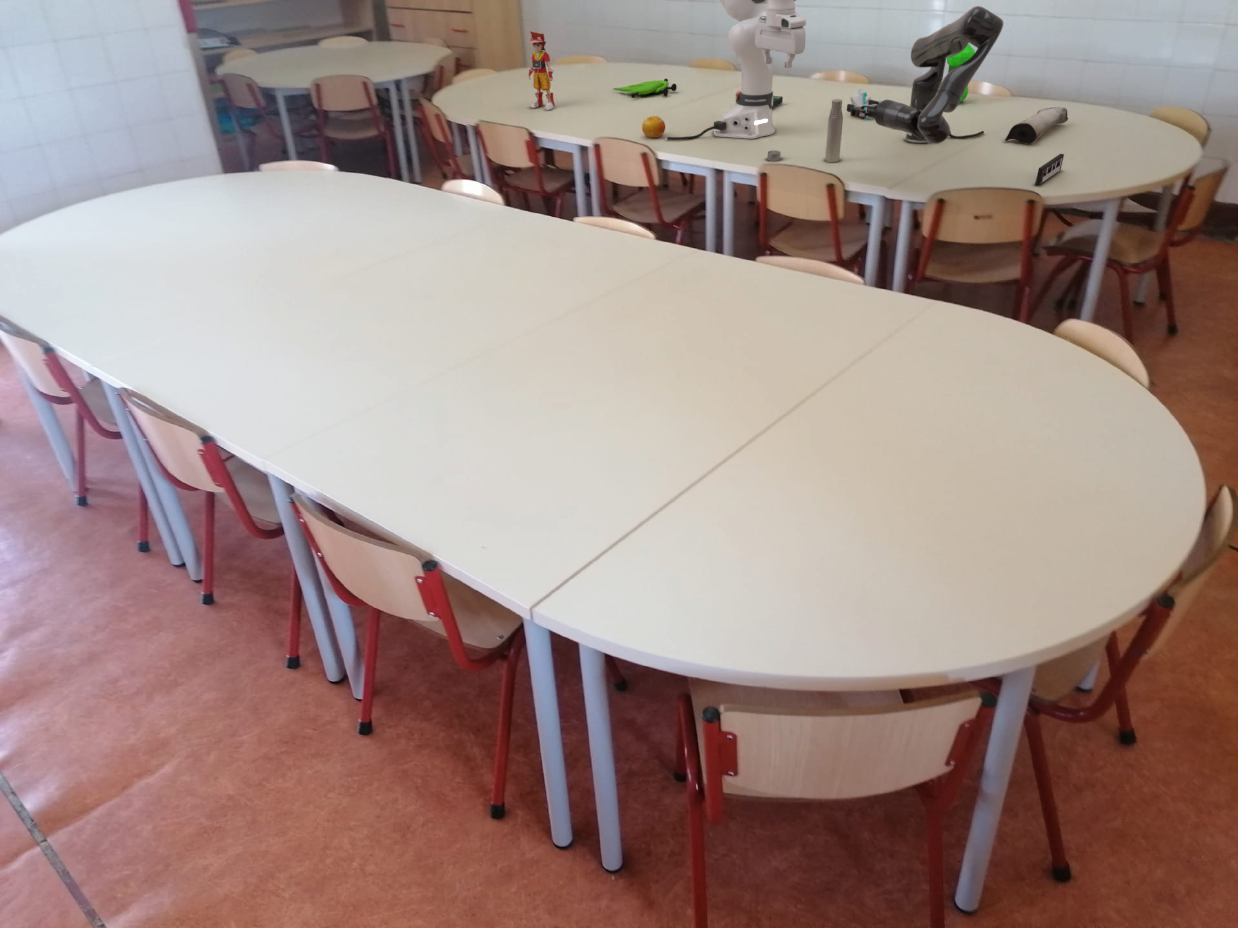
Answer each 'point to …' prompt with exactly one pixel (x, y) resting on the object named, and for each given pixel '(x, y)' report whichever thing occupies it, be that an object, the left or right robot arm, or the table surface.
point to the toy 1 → (541, 71)
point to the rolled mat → (1037, 125)
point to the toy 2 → (648, 88)
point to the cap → (773, 155)
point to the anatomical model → (860, 100)
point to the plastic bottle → (960, 59)
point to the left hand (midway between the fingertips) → (778, 66)
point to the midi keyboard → (1049, 169)
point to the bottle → (834, 132)
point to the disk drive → (777, 101)
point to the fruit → (653, 127)
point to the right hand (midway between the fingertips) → (858, 105)
